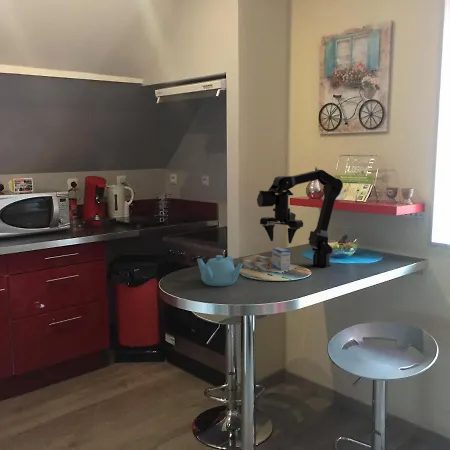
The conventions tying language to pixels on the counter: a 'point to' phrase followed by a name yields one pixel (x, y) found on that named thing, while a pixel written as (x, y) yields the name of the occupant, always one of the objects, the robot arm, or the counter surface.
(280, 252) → the medicine box
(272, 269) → the mat
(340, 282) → the counter surface
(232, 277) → the teapot
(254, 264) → the shelf lane
